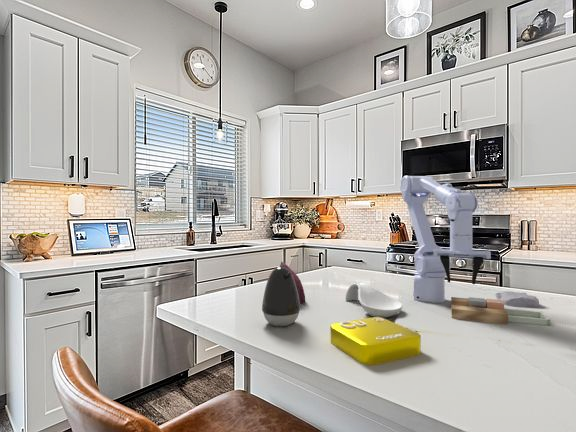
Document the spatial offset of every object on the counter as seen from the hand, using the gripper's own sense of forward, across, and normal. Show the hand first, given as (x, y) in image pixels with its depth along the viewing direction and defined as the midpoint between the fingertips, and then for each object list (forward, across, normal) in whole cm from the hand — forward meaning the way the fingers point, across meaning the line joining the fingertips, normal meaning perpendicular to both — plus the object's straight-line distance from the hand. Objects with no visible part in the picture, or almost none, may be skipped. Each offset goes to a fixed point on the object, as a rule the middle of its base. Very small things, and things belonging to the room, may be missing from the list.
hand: (461, 282), depth 99 cm
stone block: (+10, +16, +19) cm, 27 cm away
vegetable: (+10, -51, -6) cm, 52 cm away
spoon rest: (+10, -25, -4) cm, 27 cm away
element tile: (+10, -18, -33) cm, 39 cm away
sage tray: (+9, +15, 0) cm, 18 cm away
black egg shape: (+10, -44, -27) cm, 53 cm away
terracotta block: (+8, +8, 0) cm, 12 cm away
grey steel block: (+8, +4, 0) cm, 9 cm away
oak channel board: (+9, +4, 0) cm, 10 cm away
